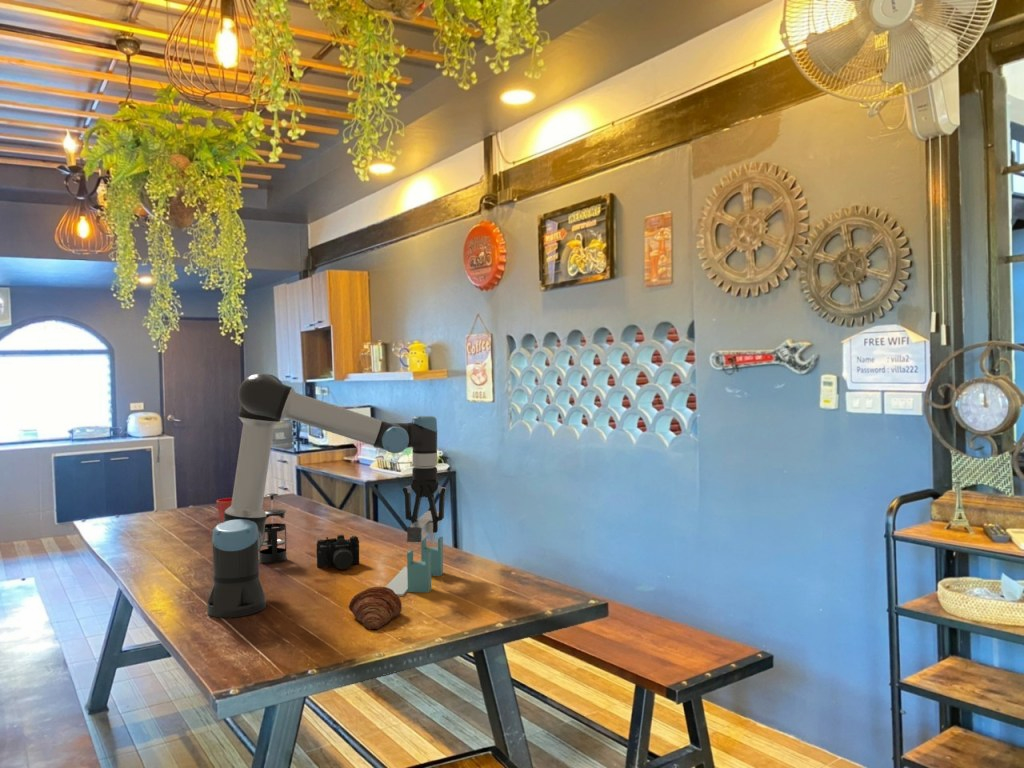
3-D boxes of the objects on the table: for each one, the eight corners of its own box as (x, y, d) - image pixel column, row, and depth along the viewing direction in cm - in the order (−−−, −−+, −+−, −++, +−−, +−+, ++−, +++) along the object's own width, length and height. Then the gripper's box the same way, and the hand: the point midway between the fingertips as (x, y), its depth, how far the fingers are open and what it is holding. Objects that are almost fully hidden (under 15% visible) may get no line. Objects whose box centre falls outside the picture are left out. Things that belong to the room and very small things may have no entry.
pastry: (420, 617, 197) (419, 587, 197) (373, 632, 186) (372, 600, 186) (380, 604, 209) (379, 576, 209) (333, 618, 197) (332, 588, 197)
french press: (289, 562, 256) (288, 495, 255) (260, 565, 252) (259, 497, 251) (284, 554, 266) (283, 490, 266) (256, 558, 262) (255, 492, 262)
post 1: (428, 592, 219) (428, 553, 218) (407, 592, 219) (407, 552, 219) (431, 588, 223) (430, 549, 222) (410, 588, 223) (410, 549, 223)
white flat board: (402, 596, 215) (402, 594, 215) (379, 595, 216) (379, 593, 216) (425, 568, 245) (425, 566, 245) (404, 568, 246) (404, 566, 246)
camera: (317, 573, 241) (317, 542, 241) (316, 565, 251) (316, 535, 251) (361, 570, 245) (361, 539, 245) (358, 562, 255) (358, 532, 255)
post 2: (440, 575, 237) (440, 539, 236) (421, 575, 237) (421, 539, 237) (443, 572, 241) (442, 536, 240) (424, 572, 241) (423, 536, 241)
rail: (420, 542, 216) (420, 528, 215) (407, 541, 216) (407, 527, 216) (440, 523, 243) (440, 510, 243) (428, 522, 244) (428, 510, 244)
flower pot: (211, 523, 325) (210, 501, 325) (227, 518, 335) (227, 496, 335) (232, 524, 322) (231, 501, 322) (248, 519, 332) (247, 497, 332)
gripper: (454, 465, 232) (454, 540, 233) (400, 464, 234) (400, 539, 234) (450, 468, 225) (450, 546, 225) (394, 467, 227) (394, 544, 227)
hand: (424, 542), depth 230 cm, fingers closed on rail, 4 cm apart
